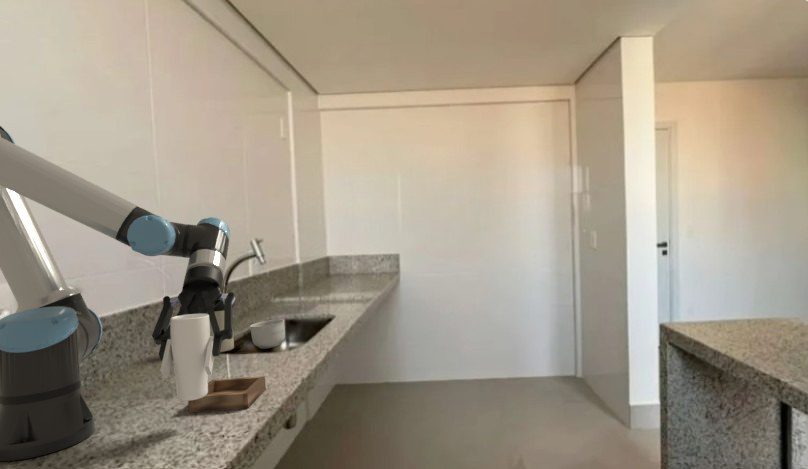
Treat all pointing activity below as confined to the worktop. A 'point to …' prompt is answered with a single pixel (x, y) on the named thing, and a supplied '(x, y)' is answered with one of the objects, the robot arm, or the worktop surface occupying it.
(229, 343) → the travel mug
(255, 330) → the teacup
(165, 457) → the worktop surface
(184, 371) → the white tumbler cup
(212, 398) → the walnut tray
